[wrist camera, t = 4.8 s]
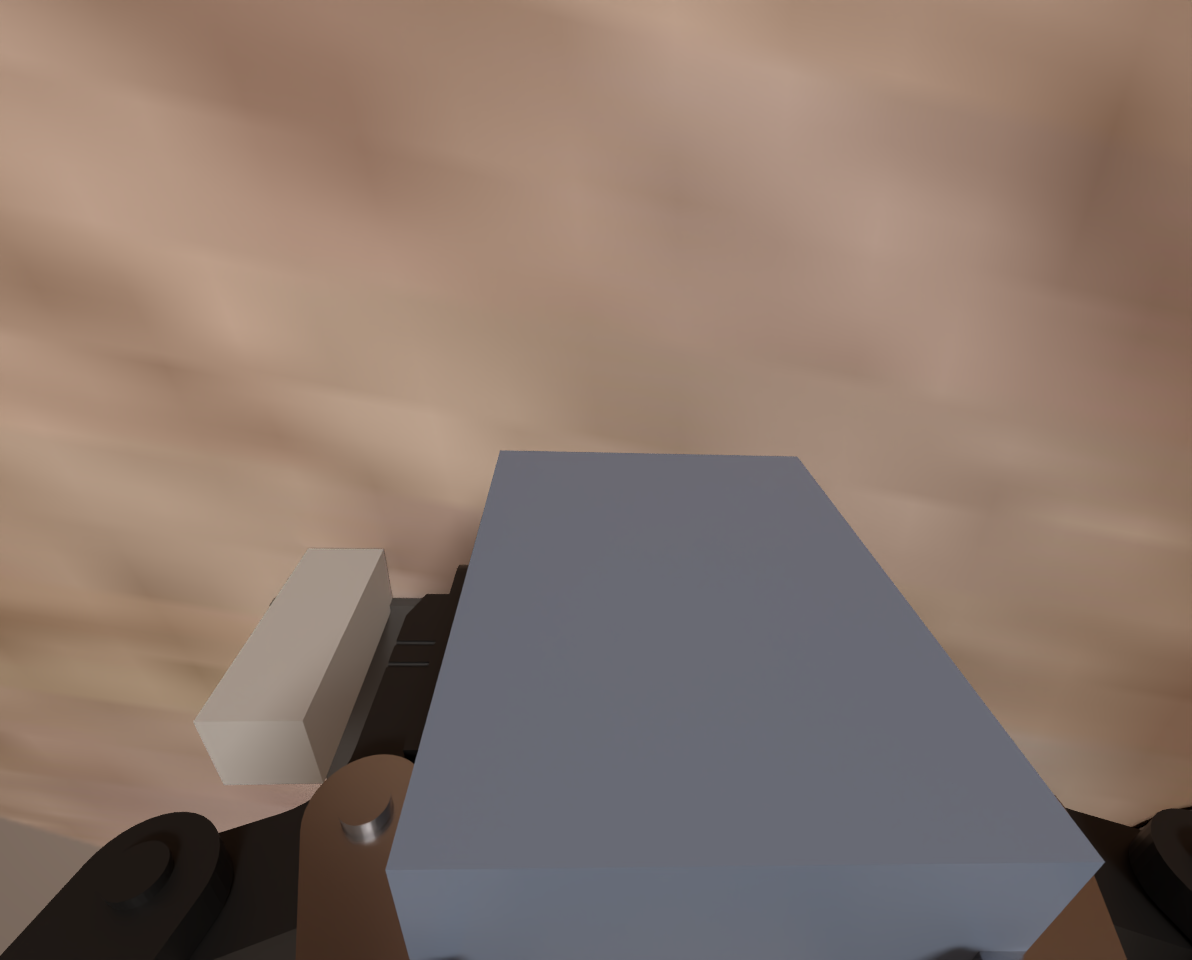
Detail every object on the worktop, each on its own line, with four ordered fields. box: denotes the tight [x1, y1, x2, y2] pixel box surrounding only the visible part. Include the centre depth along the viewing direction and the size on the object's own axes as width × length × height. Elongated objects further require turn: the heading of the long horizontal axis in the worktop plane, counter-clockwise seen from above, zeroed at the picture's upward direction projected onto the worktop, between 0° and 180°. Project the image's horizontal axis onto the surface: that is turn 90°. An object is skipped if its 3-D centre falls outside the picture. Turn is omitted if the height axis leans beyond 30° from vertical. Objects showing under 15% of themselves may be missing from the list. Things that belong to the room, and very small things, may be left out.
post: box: [193, 549, 392, 785], centre depth 17 cm, size 3×3×7 cm
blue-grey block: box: [385, 451, 1105, 960], centre depth 8 cm, size 5×5×7 cm
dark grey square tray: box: [270, 598, 422, 779], centre depth 22 cm, size 14×14×7 cm
